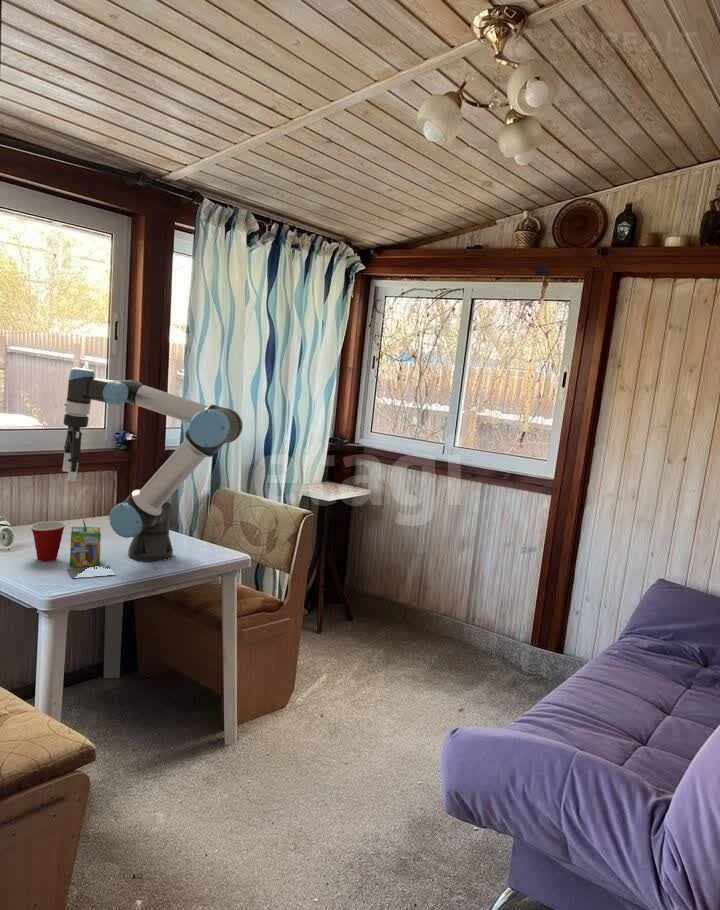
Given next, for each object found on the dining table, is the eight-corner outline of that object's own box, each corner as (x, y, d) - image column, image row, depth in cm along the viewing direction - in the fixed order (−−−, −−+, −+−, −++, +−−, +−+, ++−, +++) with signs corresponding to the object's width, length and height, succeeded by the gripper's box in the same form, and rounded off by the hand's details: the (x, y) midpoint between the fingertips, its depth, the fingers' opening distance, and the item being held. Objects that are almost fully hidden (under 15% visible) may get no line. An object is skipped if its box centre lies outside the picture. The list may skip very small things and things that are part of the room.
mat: (108, 566, 227) (108, 565, 227) (116, 575, 219) (116, 574, 218) (66, 569, 220) (66, 568, 220) (72, 579, 211) (72, 577, 211)
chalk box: (99, 567, 225) (102, 523, 224) (69, 567, 222) (71, 523, 220) (99, 559, 234) (101, 516, 232) (69, 559, 230) (72, 516, 229)
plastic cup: (29, 554, 231) (31, 519, 230) (64, 554, 235) (66, 520, 234) (26, 564, 221) (28, 527, 220) (63, 563, 225) (65, 528, 224)
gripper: (60, 407, 238) (53, 466, 241) (69, 419, 217) (61, 484, 220) (83, 410, 242) (75, 468, 245) (94, 421, 221) (86, 485, 223)
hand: (68, 476), depth 232 cm, fingers open, 13 cm apart
